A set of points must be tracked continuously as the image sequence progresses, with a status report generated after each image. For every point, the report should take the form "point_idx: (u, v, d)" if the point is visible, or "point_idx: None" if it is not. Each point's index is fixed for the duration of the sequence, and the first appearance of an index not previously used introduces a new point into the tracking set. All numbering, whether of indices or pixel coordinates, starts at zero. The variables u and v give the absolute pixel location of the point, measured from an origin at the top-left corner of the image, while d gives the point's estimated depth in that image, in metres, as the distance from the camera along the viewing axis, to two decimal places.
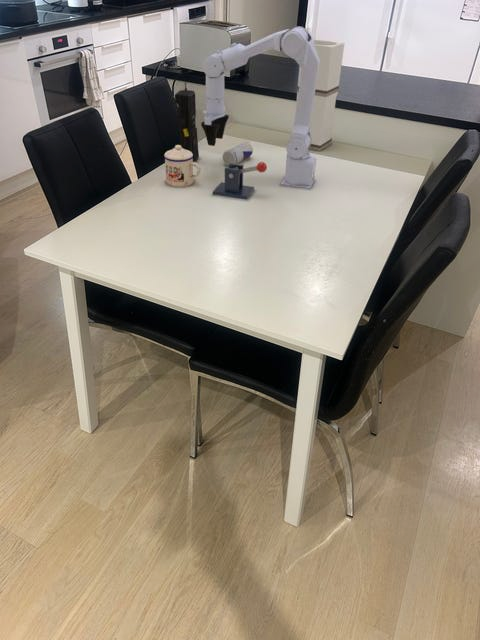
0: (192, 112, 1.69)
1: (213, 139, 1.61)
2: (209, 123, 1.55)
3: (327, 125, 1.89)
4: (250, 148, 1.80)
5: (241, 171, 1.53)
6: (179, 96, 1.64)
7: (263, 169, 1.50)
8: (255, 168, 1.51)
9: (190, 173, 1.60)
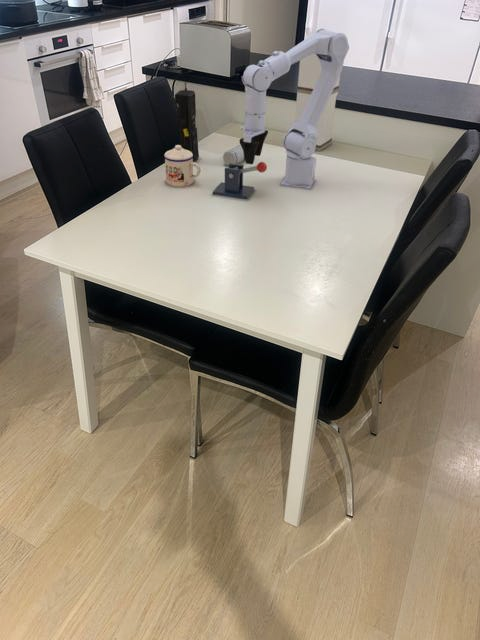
0: (192, 112, 1.69)
1: (252, 157, 1.48)
2: (249, 140, 1.42)
3: (327, 125, 1.89)
4: None
5: (241, 171, 1.53)
6: (179, 96, 1.64)
7: (263, 169, 1.50)
8: (255, 168, 1.51)
9: (190, 173, 1.60)
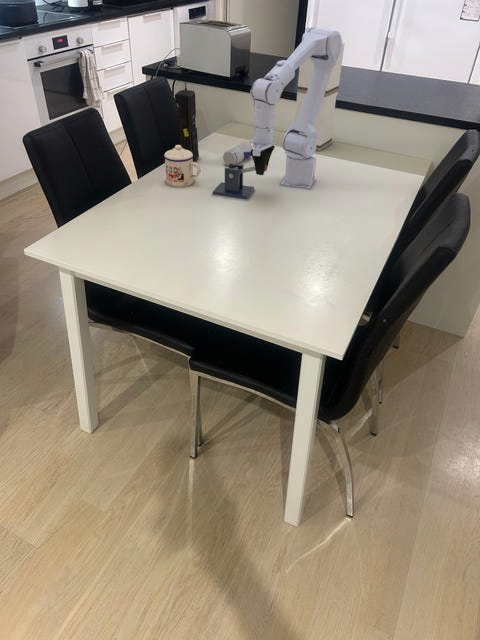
0: (192, 112, 1.69)
1: (262, 168, 1.48)
2: (258, 154, 1.41)
3: (327, 125, 1.89)
4: (251, 149, 1.80)
5: (241, 171, 1.53)
6: (179, 96, 1.64)
7: None
8: None
9: (190, 173, 1.60)
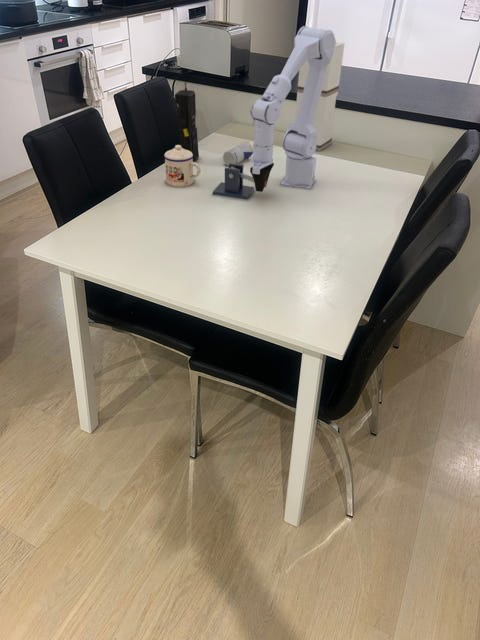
0: (192, 112, 1.69)
1: (262, 185, 1.51)
2: (257, 172, 1.44)
3: (327, 125, 1.89)
4: (251, 149, 1.80)
5: (241, 176, 1.53)
6: (179, 96, 1.64)
7: None
8: None
9: (190, 173, 1.60)
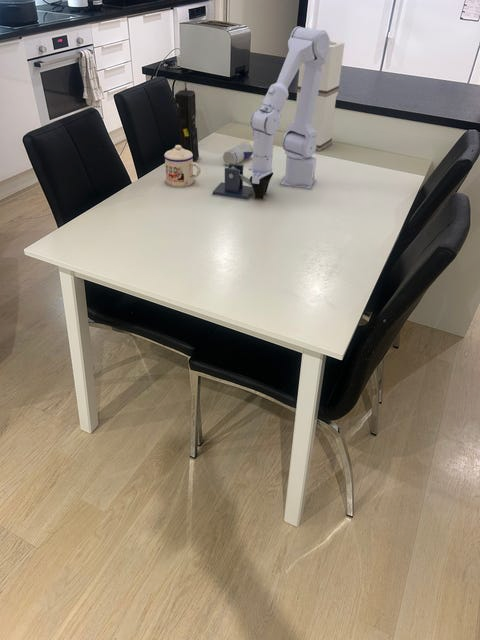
0: (192, 112, 1.69)
1: (261, 194, 1.53)
2: (257, 182, 1.46)
3: (327, 125, 1.89)
4: (251, 149, 1.80)
5: (241, 177, 1.54)
6: (179, 96, 1.64)
7: None
8: None
9: (190, 173, 1.60)
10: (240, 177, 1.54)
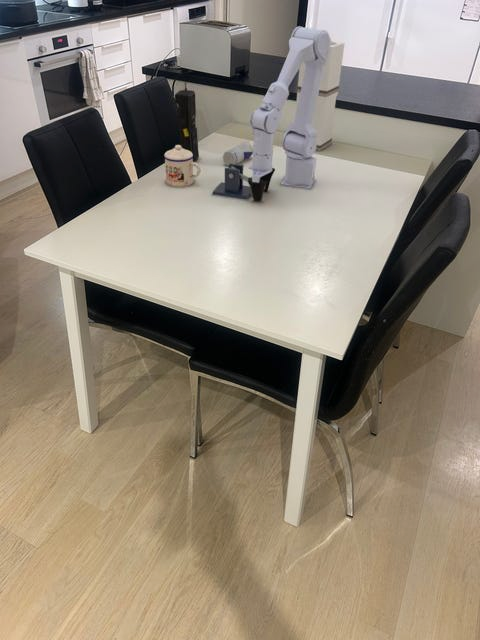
0: (192, 112, 1.69)
1: (260, 195, 1.51)
2: (257, 181, 1.46)
3: (327, 125, 1.89)
4: (251, 149, 1.80)
5: (241, 176, 1.54)
6: (179, 96, 1.64)
7: None
8: None
9: (190, 173, 1.60)
10: (240, 176, 1.54)
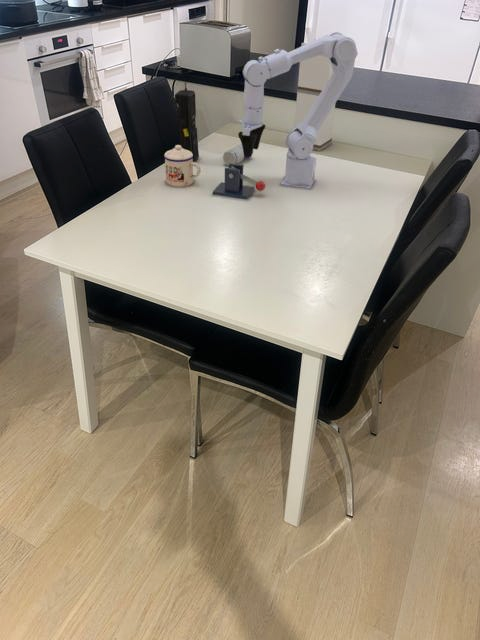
0: (192, 112, 1.69)
1: (250, 150, 1.52)
2: (247, 134, 1.47)
3: (327, 125, 1.89)
4: None
5: (241, 176, 1.54)
6: (179, 96, 1.64)
7: (261, 189, 1.54)
8: (254, 183, 1.54)
9: (190, 173, 1.60)
10: (240, 176, 1.54)
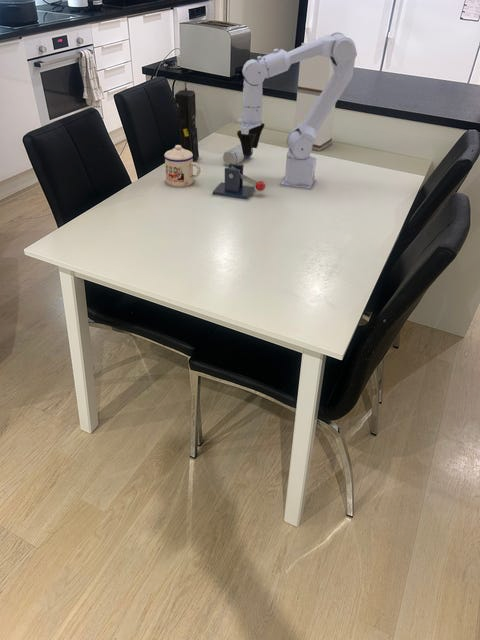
0: (192, 112, 1.69)
1: (249, 149, 1.53)
2: (246, 132, 1.48)
3: (327, 125, 1.89)
4: None
5: (241, 176, 1.54)
6: (179, 96, 1.64)
7: (261, 189, 1.54)
8: (254, 183, 1.54)
9: (190, 173, 1.60)
10: (240, 176, 1.54)
